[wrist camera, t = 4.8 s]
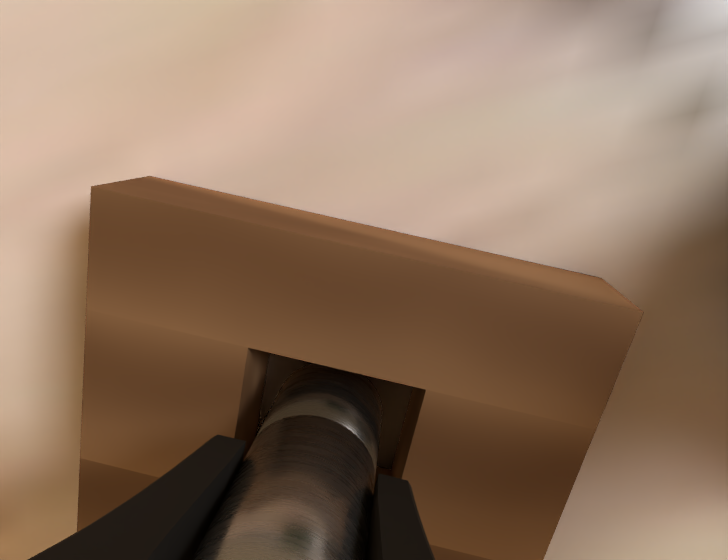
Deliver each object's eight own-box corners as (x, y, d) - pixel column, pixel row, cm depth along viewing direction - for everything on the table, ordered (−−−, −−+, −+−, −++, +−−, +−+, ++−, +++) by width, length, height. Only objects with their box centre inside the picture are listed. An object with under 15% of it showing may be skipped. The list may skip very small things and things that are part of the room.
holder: (491, 574, 16) (504, 653, 13) (126, 483, 16) (76, 544, 14) (601, 278, 13) (643, 312, 10) (149, 175, 13) (91, 186, 11)
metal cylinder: (365, 468, 14) (309, 840, 7) (267, 437, 14) (104, 773, 7) (396, 381, 13) (371, 698, 6) (291, 348, 13) (135, 622, 6)
